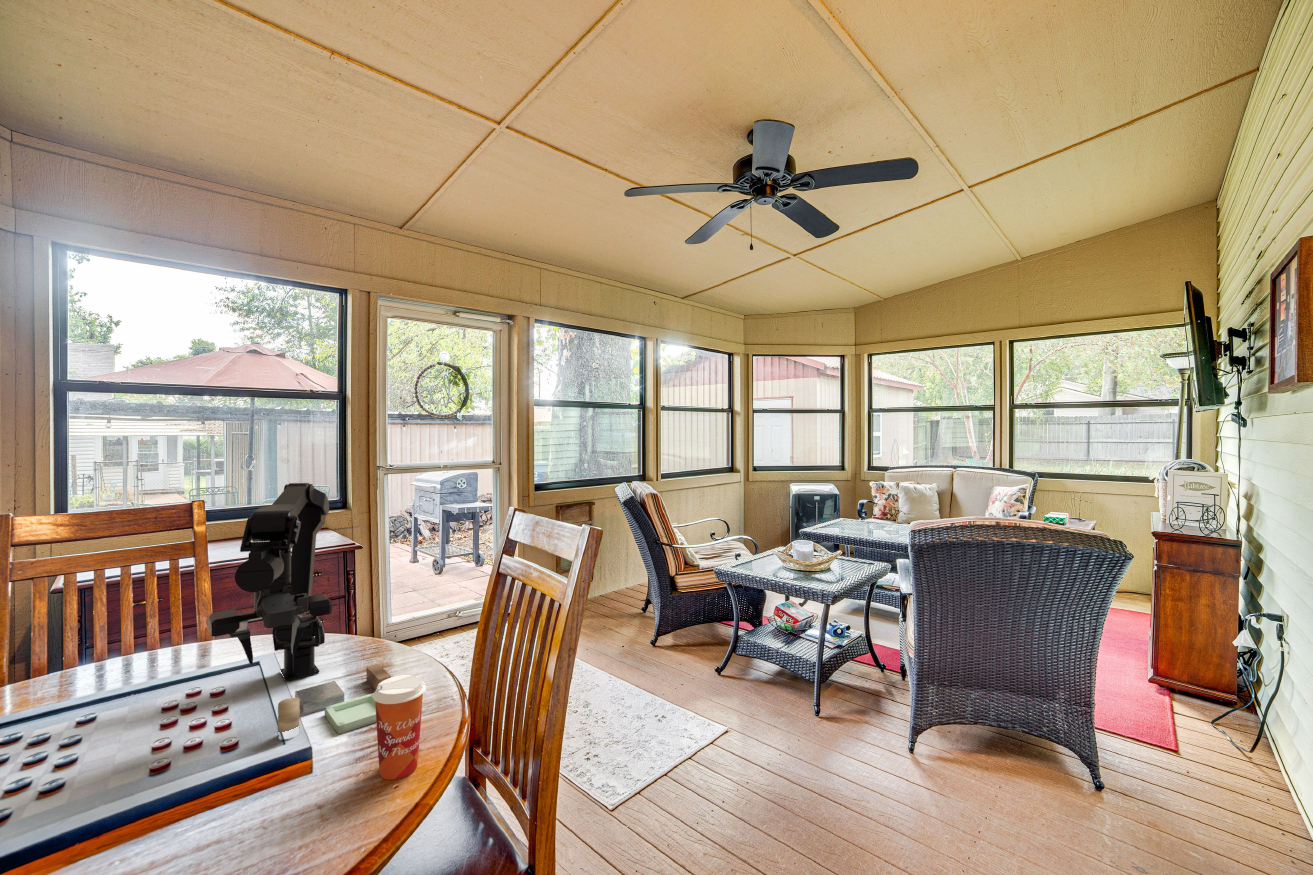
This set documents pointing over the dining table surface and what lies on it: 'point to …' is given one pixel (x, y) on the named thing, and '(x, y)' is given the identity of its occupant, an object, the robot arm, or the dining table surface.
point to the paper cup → (398, 725)
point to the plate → (319, 697)
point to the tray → (352, 713)
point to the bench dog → (376, 675)
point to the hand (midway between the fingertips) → (272, 658)
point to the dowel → (288, 714)
